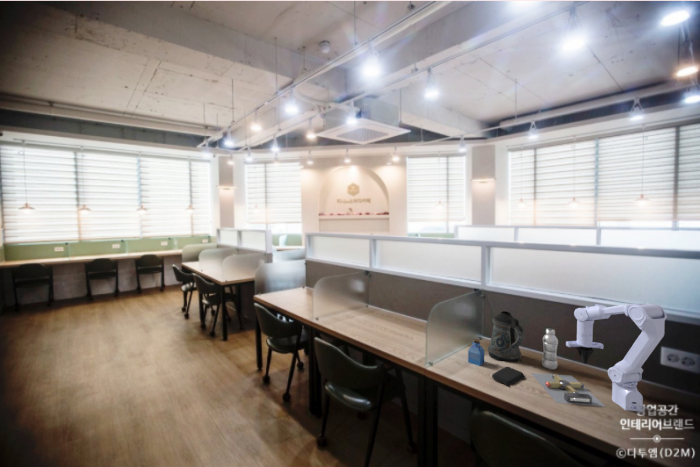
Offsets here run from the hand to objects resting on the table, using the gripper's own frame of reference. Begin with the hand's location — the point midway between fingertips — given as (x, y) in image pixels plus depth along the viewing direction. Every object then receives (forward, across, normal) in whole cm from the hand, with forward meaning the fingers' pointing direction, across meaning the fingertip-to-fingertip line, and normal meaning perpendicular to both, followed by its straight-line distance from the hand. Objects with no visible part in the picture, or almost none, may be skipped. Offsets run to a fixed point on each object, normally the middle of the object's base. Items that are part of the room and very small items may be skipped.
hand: (583, 362), depth 139 cm
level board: (+9, +12, +8) cm, 17 cm away
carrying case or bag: (+10, +33, +2) cm, 34 cm away
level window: (+9, +12, +18) cm, 23 cm away
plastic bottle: (+10, +9, -12) cm, 18 cm away
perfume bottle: (+10, +44, -14) cm, 47 cm away
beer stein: (+10, +26, -22) cm, 35 cm away
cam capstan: (+9, +12, +8) cm, 17 cm away
